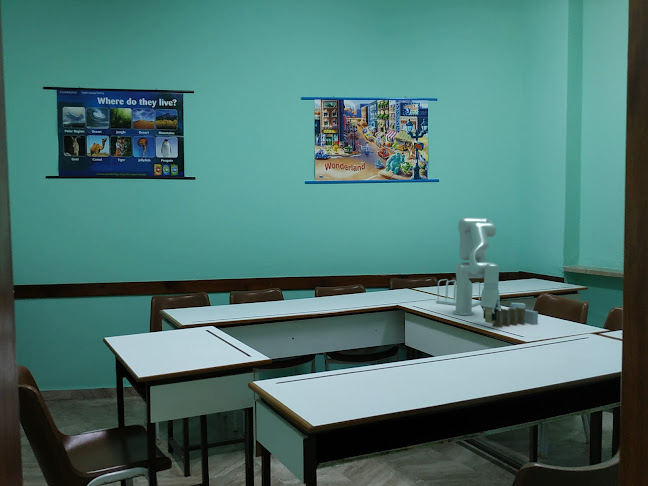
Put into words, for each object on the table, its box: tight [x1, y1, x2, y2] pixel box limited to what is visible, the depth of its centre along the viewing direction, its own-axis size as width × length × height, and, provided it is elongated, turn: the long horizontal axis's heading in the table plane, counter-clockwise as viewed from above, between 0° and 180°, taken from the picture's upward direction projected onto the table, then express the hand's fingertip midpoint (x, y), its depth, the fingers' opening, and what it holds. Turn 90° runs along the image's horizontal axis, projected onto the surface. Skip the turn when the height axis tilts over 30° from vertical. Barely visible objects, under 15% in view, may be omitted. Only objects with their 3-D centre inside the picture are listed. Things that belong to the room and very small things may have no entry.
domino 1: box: [484, 307, 495, 325], centre depth 341 cm, size 2×5×9 cm, turn 32°
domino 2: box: [491, 309, 503, 328], centre depth 345 cm, size 2×5×9 cm, turn 32°
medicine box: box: [510, 302, 527, 309], centre depth 373 cm, size 8×4×9 cm, turn 84°
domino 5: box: [515, 307, 526, 326], centre depth 354 cm, size 2×5×9 cm, turn 31°
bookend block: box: [525, 308, 539, 326], centre depth 358 cm, size 4×10×7 cm, turn 32°
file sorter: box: [435, 278, 481, 307], centre depth 421 cm, size 25×17×16 cm
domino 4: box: [507, 307, 518, 327], centre depth 351 cm, size 2×5×9 cm, turn 32°
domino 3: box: [500, 308, 511, 328], centre depth 348 cm, size 2×5×9 cm, turn 32°
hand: (489, 319), depth 341 cm, fingers closed on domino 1, 5 cm apart
